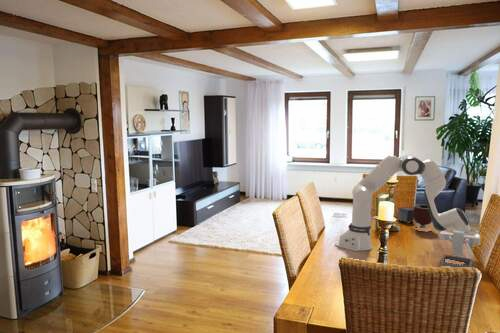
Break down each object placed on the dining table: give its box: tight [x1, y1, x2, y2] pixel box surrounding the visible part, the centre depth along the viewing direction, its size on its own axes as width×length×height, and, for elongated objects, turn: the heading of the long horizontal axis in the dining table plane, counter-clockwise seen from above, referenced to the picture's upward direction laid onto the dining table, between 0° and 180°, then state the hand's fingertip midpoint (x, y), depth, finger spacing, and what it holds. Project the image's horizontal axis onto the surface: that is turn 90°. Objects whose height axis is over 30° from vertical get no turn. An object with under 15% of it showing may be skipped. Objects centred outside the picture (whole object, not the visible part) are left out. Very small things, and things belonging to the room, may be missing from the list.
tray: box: [440, 254, 474, 268], centre depth 212 cm, size 14×14×4 cm
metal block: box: [451, 229, 465, 257], centre depth 211 cm, size 5×5×12 cm
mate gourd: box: [412, 203, 432, 228], centre depth 282 cm, size 16×14×20 cm
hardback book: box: [374, 192, 394, 230], centre depth 290 cm, size 18×7×24 cm, turn 146°
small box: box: [397, 206, 414, 223], centre depth 306 cm, size 11×6×10 cm, turn 22°
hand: (458, 241), depth 210 cm, fingers closed on metal block, 5 cm apart
